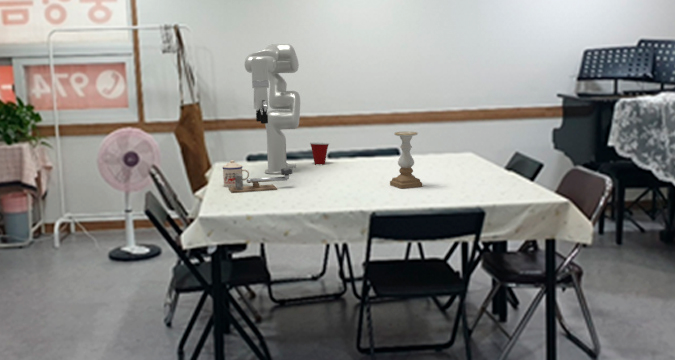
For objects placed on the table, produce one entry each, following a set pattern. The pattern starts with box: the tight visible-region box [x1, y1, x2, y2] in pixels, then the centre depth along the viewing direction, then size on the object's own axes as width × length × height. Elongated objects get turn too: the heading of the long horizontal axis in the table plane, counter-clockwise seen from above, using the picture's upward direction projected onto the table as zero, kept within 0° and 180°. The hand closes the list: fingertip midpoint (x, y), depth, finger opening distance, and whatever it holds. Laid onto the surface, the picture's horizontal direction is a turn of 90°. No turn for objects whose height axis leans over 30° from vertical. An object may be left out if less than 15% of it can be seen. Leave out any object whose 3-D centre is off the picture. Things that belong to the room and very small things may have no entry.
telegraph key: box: [228, 174, 278, 194], centre depth 299 cm, size 20×10×7 cm, turn 107°
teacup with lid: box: [222, 159, 250, 188], centre depth 310 cm, size 12×9×12 cm
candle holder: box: [389, 131, 423, 190], centre depth 300 cm, size 11×11×24 cm
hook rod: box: [246, 168, 293, 184], centre depth 301 cm, size 21×5×5 cm, turn 107°
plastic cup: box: [309, 142, 330, 165], centre depth 372 cm, size 11×11×12 cm
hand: (262, 122), depth 310 cm, fingers open, 9 cm apart
